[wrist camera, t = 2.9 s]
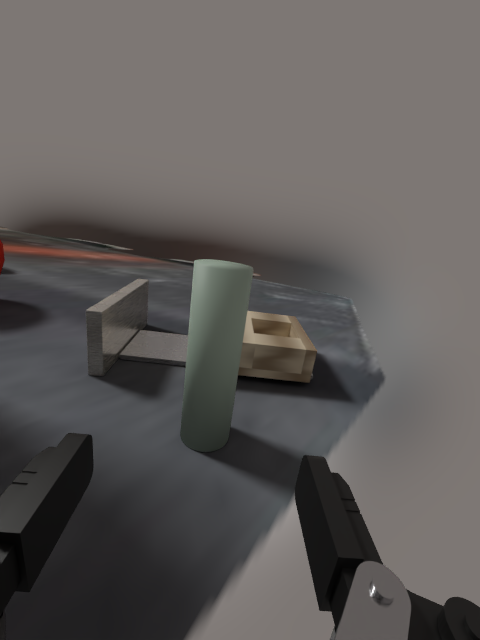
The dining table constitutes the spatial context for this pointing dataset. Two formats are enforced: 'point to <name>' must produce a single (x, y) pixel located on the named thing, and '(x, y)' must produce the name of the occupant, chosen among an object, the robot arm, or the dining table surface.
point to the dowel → (214, 351)
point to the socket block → (276, 348)
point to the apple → (1, 256)
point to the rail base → (129, 332)
